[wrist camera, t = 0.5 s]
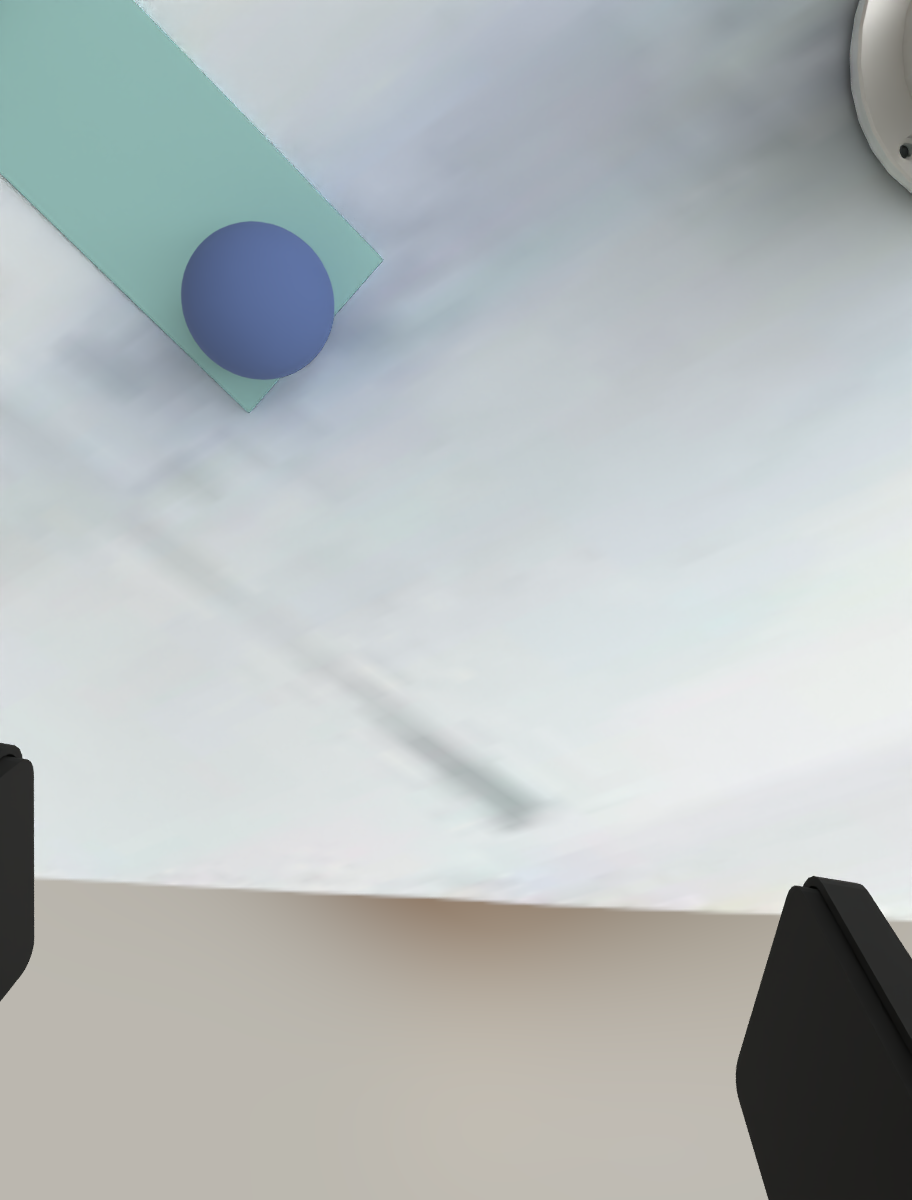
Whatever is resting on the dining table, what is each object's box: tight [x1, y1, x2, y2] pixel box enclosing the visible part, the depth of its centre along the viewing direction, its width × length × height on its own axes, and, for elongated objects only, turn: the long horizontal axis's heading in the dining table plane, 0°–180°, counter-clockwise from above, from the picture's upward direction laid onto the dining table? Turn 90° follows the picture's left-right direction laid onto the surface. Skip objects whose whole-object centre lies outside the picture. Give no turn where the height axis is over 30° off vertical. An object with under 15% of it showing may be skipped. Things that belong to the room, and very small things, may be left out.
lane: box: [0, 0, 383, 413], centre depth 35 cm, size 9×30×1 cm, turn 45°
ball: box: [181, 221, 334, 380], centre depth 34 cm, size 6×6×6 cm
